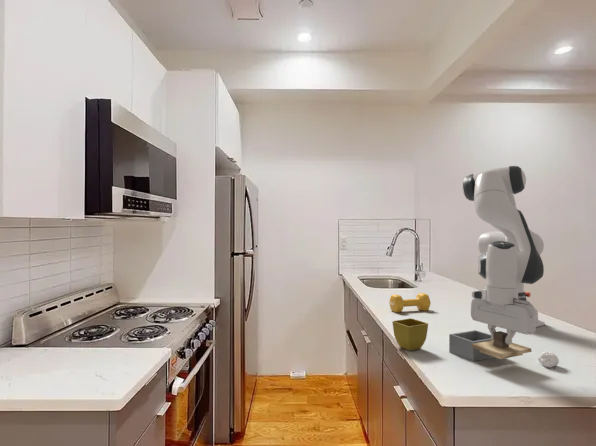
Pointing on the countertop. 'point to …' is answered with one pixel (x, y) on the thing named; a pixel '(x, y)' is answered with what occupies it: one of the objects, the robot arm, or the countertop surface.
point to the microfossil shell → (548, 359)
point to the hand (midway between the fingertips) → (501, 341)
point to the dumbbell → (409, 302)
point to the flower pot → (410, 333)
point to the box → (468, 344)
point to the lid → (500, 347)
